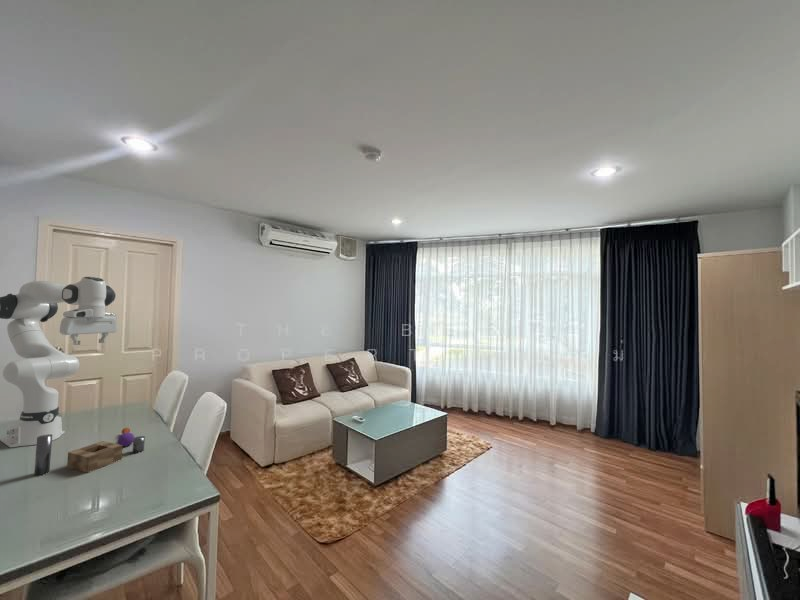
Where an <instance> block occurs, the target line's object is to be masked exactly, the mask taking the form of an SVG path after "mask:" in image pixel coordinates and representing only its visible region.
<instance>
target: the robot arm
mask: <svg viewBox="0 0 800 600" xmlns="http://www.w3.org/2000/svg"><path fill="white" fill-rule="evenodd" d="M115 300H116V292H115V291H114V289H113V288H112V287H111V286H110V285H107V284H106V280H105V279H103V278H102V277H101V278H100V277H94V276H83V277H81V279H80V281H78V282H75V283H70V284H63V283H60V282H56V281H55V282H54V281H49V280H36V281H35V280H34V281H30V282H27V283H24V284H22V286H20V288H19V292H18V293H17V294H12V293H7V294H6V295H4V296H0V319H2V320H3V319H4V320H9V319H11V321H9V323H8V324H7V326H6V329H7V335H8V338H9V341H10V343H11V345H12V347H13V349H14V350H15V353H16V354H17V356H19V357H21V358H22V359H18V360H14V361H11V362H9V363H7V364H6V365H5V366H4V368H3V370H2V377H3V378H4V380H5V381H6V382H8V383H10V384H12V385H14V386H16V387H17V388H18V389H19V390H20V392H21V393H22V397H23V398H22V400H23V408H22V411H21V412H20V417H19V420H18V421H17V422H15V423H13V424H12V425H11V426H10V427H9V429H7V430H6V436H4V437H1V438H0V442H1V443H3V444H4V445H6V446H7V447H8V448H17V447H25V446H32V445H33V446H34V445H35V446H36V444H37V437H39V436H42V435H48V434H51V435H52V441H55V440H57V439H58V438H60V437H61V436H62V435H64V434H65V430H62V429H63V427H62V426H63V424H62V417H61V416H59V414H60V407H59V395H60V394H59V391H58V390H57V388H56V389H55V388H54V387H51V386H46V383H45V381H47V380H55V379H60V378H64V377H68V376H71V375H74V374H76V373H77V372H78V371H79V368H80V365H81V364H80V361H79V359H78V358H77V356H74V355H71V354H67V353H64V352H63V351H61V350H59V349H57V348H55V346H53V345H52V344H51V343H50V341H49V340H48V338H47V337H46V335H45V333H44V331H43V330H42V328H41V326H40V322H41V323H46V322H47V321H49V319H51V318H53V317H54V316H56V314H57V312H58V309H59V307H58V304H61V303H67V304H68V305H72V306H78V308H75V309H72V310H67V311H64V312H63V313H62V316H63V318H62V319H61V320H60V325H59V333H60V335H62V336H70V338H71V341H73V345H74V346H80V345H81V340H78V337H79V335H89V334H90V335H91V334H101V338H99V339H98V343H99V344H105V342H106V339H107V337H108V336H109V334H111V333H113V334H114V333H116V332H118V316H117V314H115V313H113V312H109V313H108V312H106V307H108V306H110V305H111V304H112V303H114V301H115Z"/></svg>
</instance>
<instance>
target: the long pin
mask: <svg viewBox="0 0 800 600" xmlns="http://www.w3.org/2000/svg"><path fill="white" fill-rule="evenodd" d="M52 445H53V440H52V435H51V434H48V435H42V436H39V437H37V444H35V458H34V460H35V461H34V474H33V475H41V476H44V475H43V474H45V475H47V474H49V473H50V472H51V457H52V447H53V446H52ZM48 472H49V473H48ZM46 473H47V474H46Z"/></svg>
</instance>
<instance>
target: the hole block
mask: <svg viewBox="0 0 800 600" xmlns="http://www.w3.org/2000/svg"><path fill="white" fill-rule="evenodd" d="M123 448H124V447H123V445H119V444H118V443H114V442H109V441H104V440H102V441H99V442H96V443H92V444H90V445H87V446H83V447H80V448H77V449H74V450H72V451H68V452H67V464H66V468H67V469H71V470H74V469H76V470H75V471H78V470H80V471H79V472H82V471H83V473H86V472H89V473H91V472H90V471H92V472H93V470H94V471H96V470H95V469H97V470H99V469H102V468H104V467H107V466H109V465H108V464H110V465H112V464H115V463H117V462H119V461H118V460H120V461H122V460H121V459H123ZM116 461H117V462H116ZM114 462H115V463H114ZM111 463H112V464H111ZM106 465H107V466H106ZM103 466H104V467H103ZM101 467H102V468H101ZM98 468H99V469H98Z"/></svg>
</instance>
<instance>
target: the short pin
mask: <svg viewBox="0 0 800 600" xmlns="http://www.w3.org/2000/svg"><path fill="white" fill-rule="evenodd" d="M145 438H146V437H145V436H143V435H141V436H134V439H133V443H132V453H133V454H139V453H138V452H140V453H143V452H144V451H145V440H146V439H145ZM142 451H143V452H142Z"/></svg>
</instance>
